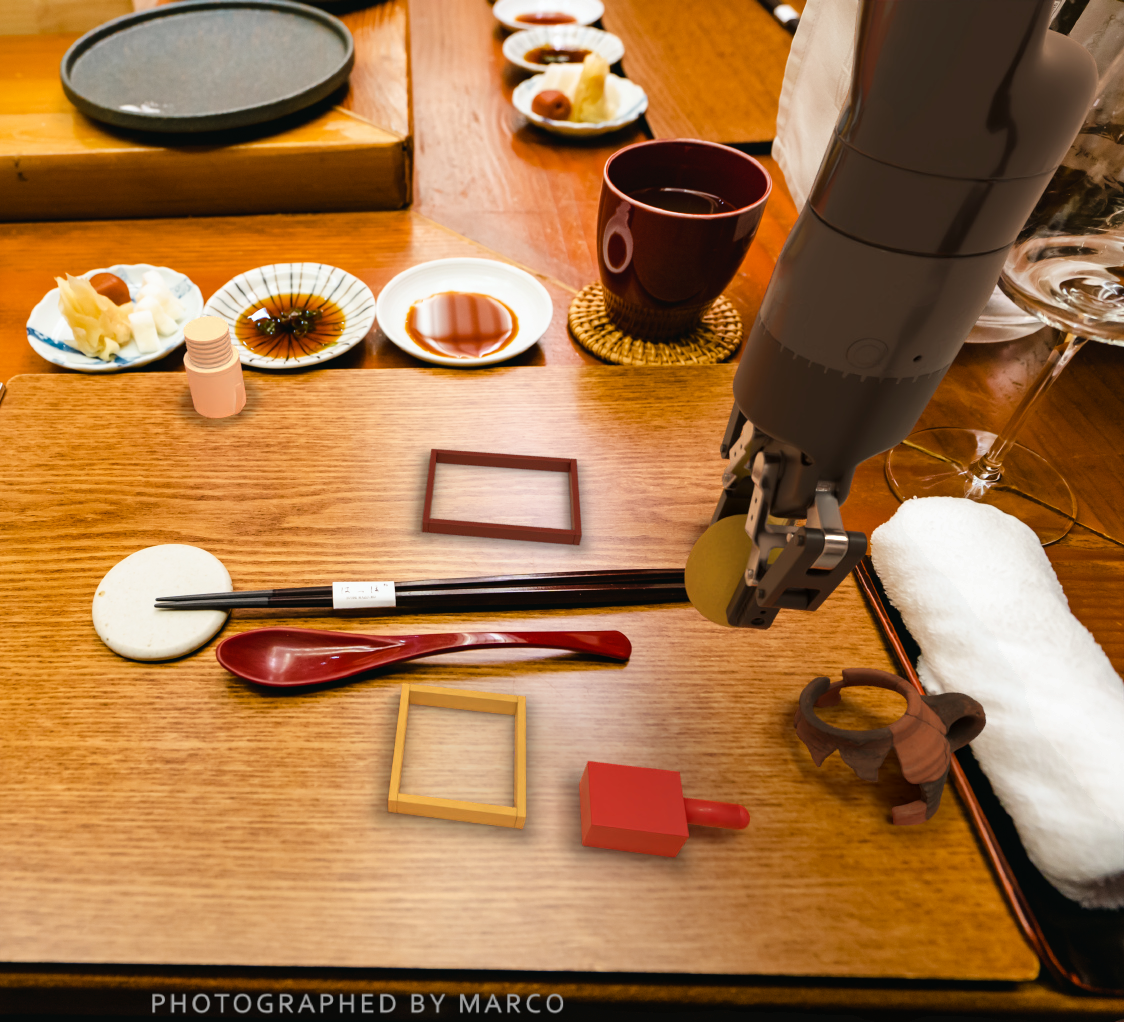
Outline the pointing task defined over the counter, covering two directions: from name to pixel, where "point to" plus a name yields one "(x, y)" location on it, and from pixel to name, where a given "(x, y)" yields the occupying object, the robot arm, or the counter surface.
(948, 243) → the robot arm
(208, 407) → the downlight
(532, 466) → the dark red rectangular frame
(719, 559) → the lemon
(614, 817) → the red peg block
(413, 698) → the yellow square frame
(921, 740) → the broken clay pot
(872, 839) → the counter surface
